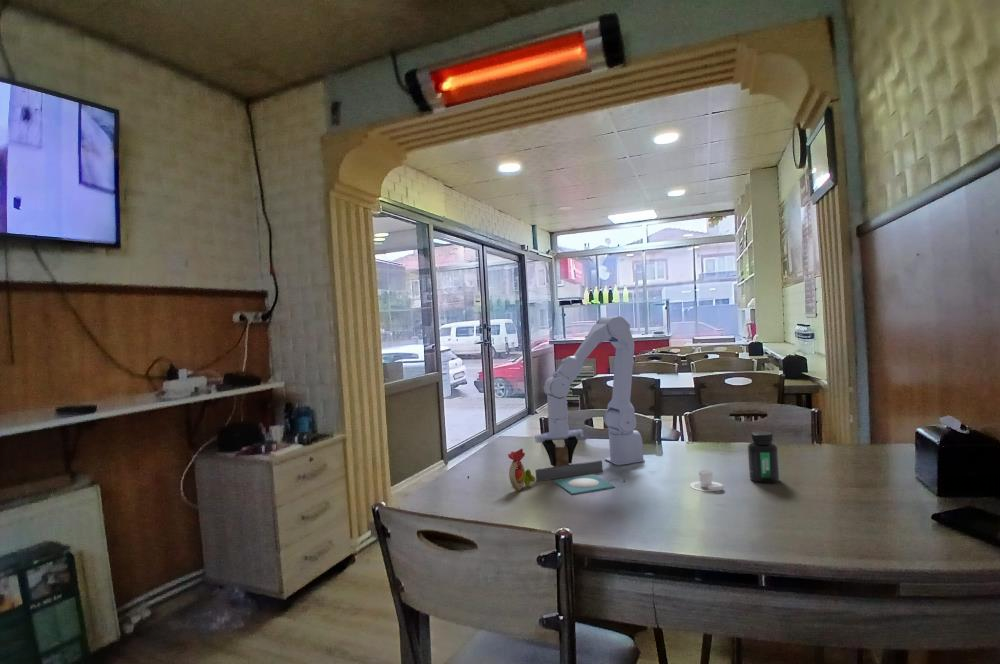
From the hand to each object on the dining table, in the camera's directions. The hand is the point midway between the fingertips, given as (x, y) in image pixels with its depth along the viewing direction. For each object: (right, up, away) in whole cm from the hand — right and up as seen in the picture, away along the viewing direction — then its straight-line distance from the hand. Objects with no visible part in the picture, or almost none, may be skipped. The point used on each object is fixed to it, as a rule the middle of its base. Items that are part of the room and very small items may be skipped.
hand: (561, 463), depth 152 cm
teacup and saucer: (+32, -1, -24) cm, 40 cm away
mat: (+4, -2, -14) cm, 15 cm away
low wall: (+2, -2, -6) cm, 6 cm away
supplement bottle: (+49, +1, -20) cm, 53 cm away
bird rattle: (-13, -3, -14) cm, 19 cm away
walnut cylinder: (0, -2, 0) cm, 2 cm away
